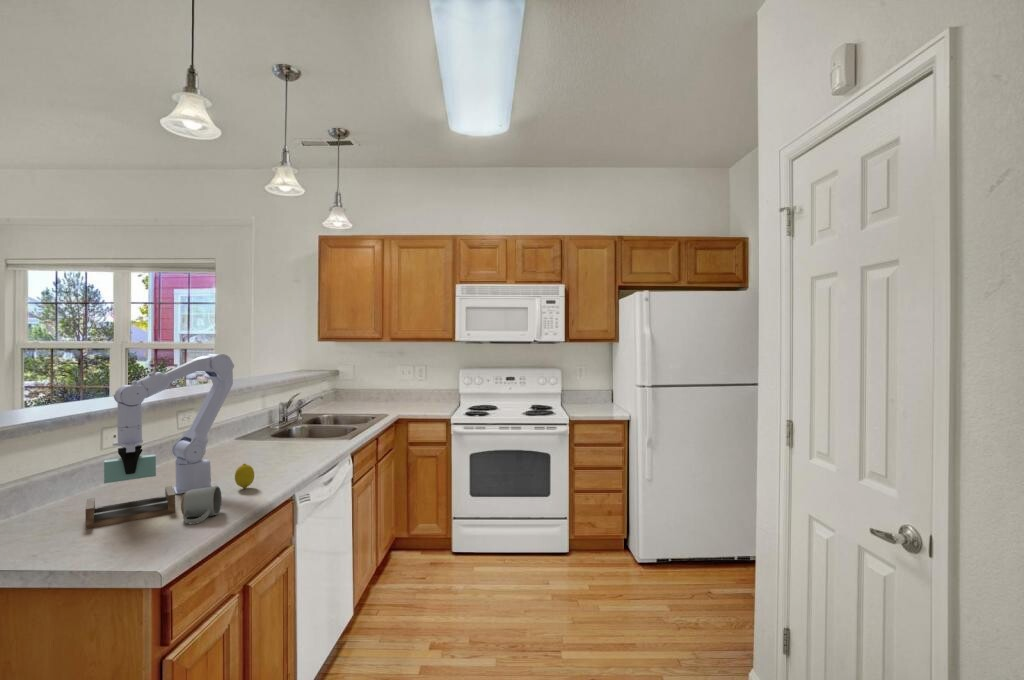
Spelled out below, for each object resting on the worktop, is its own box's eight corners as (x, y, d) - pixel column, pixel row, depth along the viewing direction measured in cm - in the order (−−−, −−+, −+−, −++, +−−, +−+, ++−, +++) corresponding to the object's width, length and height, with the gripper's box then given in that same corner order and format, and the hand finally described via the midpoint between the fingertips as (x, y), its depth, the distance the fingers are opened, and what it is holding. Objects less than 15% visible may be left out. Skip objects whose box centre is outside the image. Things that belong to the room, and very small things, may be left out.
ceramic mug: (189, 512, 140) (189, 484, 140) (222, 509, 142) (222, 482, 142) (174, 527, 130) (174, 497, 130) (210, 523, 132) (209, 494, 132)
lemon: (246, 491, 158) (245, 466, 158) (230, 490, 159) (230, 465, 159) (258, 486, 164) (258, 461, 164) (243, 485, 165) (243, 461, 165)
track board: (172, 502, 148) (171, 485, 148) (175, 512, 140) (175, 494, 140) (87, 517, 136) (87, 499, 136) (85, 528, 128) (85, 509, 128)
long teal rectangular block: (155, 473, 153) (155, 454, 153) (155, 476, 151) (155, 456, 151) (104, 481, 146) (104, 460, 146) (104, 483, 143) (103, 462, 143)
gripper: (112, 424, 151) (113, 469, 151) (112, 431, 140) (112, 480, 140) (141, 421, 156) (142, 465, 156) (143, 428, 144) (144, 475, 144)
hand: (130, 472), depth 148 cm, fingers closed on long teal rectangular block, 3 cm apart
